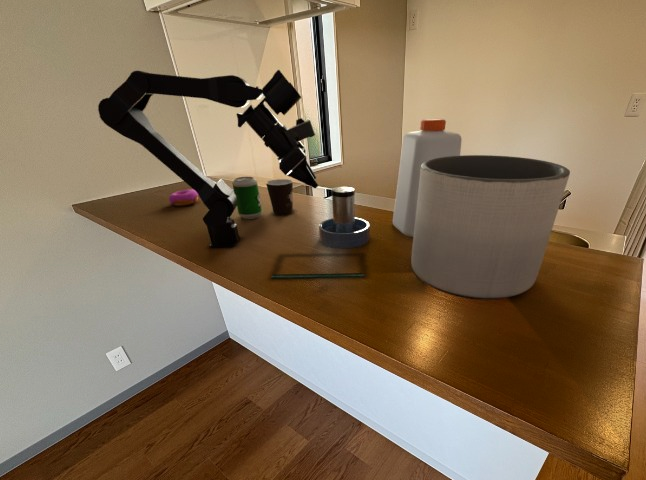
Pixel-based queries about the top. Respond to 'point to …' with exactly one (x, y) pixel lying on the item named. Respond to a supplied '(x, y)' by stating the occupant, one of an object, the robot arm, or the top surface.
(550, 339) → the top surface
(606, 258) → the top surface
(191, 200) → the donut
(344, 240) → the blue bowl
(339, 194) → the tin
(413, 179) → the plastic bottle
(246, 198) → the soda can
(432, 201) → the planter
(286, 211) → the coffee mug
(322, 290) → the top surface
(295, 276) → the mat
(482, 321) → the top surface
